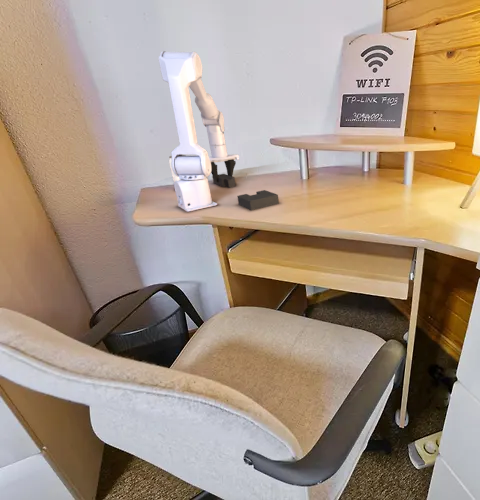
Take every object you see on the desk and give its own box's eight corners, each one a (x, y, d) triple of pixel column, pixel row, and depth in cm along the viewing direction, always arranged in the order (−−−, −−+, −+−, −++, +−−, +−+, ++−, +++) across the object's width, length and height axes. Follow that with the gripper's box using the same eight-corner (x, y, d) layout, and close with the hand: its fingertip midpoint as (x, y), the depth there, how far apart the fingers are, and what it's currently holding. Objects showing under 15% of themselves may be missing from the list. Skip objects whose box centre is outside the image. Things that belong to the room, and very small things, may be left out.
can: (198, 187, 122) (191, 154, 117) (188, 191, 116) (181, 158, 111) (182, 186, 123) (174, 154, 117) (172, 191, 117) (163, 157, 112)
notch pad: (251, 210, 97) (249, 201, 96) (238, 204, 102) (237, 195, 101) (278, 203, 104) (278, 194, 102) (265, 198, 109) (264, 189, 107)
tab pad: (226, 188, 120) (224, 180, 119) (213, 183, 128) (212, 175, 126) (238, 185, 124) (237, 178, 122) (225, 180, 131) (224, 173, 130)
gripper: (230, 141, 127) (236, 175, 133) (193, 145, 118) (201, 181, 124) (239, 143, 123) (244, 178, 128) (201, 147, 113) (209, 185, 119)
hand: (223, 180), depth 126 cm, fingers closed on tab pad, 5 cm apart
